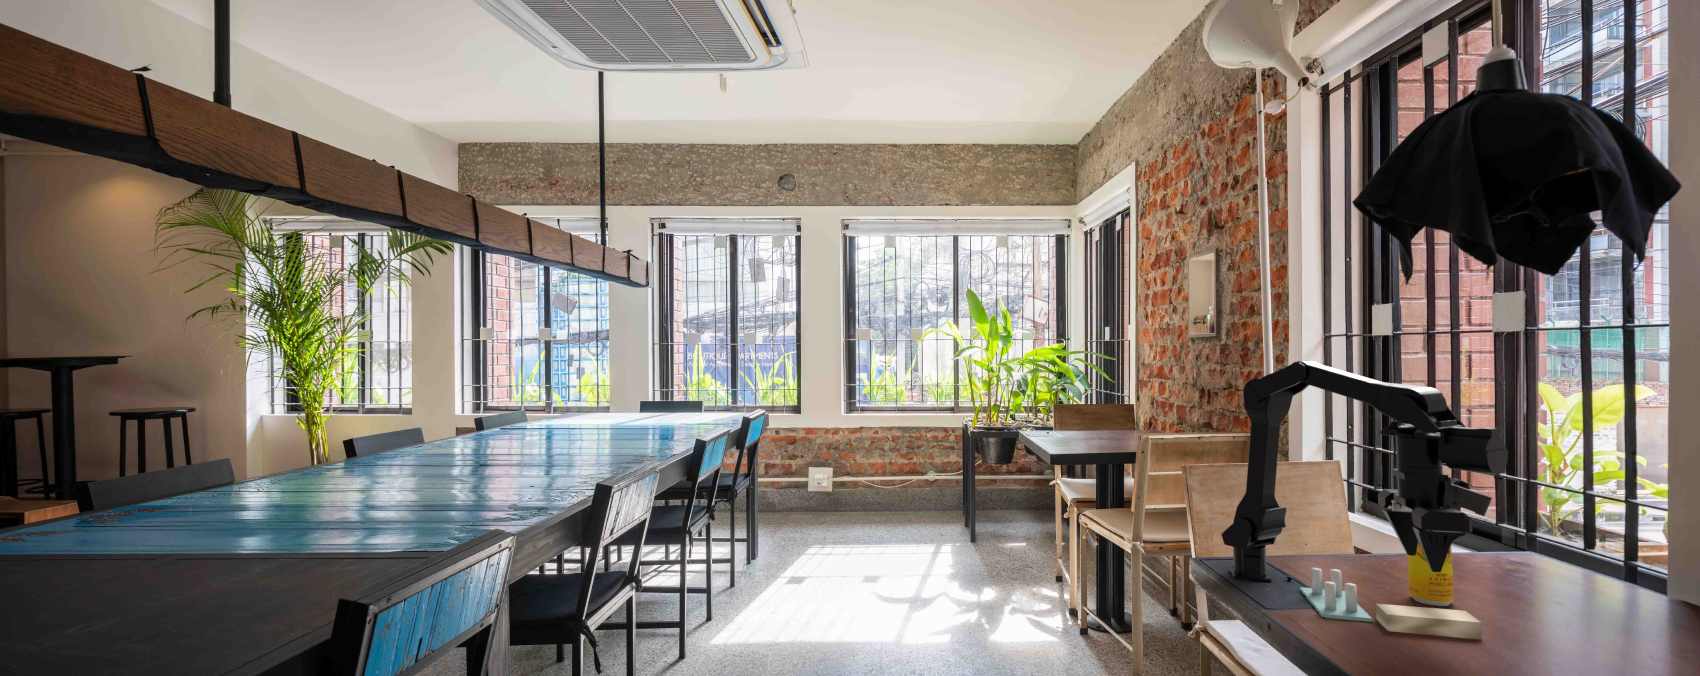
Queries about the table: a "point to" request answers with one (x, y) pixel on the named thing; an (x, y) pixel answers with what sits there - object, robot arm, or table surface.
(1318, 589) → the peg stand
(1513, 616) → the table surface
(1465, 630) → the board
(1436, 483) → the robot arm
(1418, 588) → the beer can
